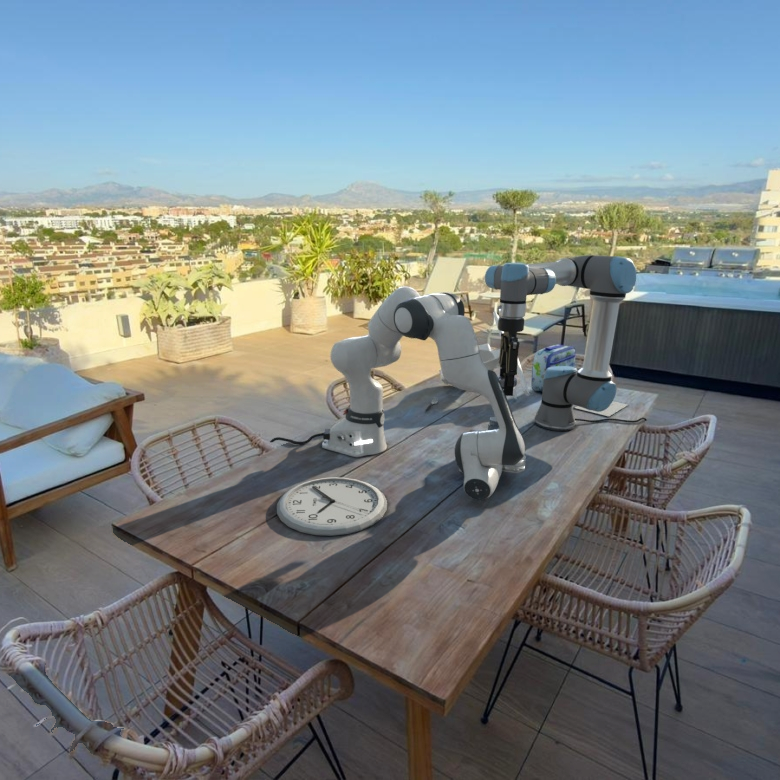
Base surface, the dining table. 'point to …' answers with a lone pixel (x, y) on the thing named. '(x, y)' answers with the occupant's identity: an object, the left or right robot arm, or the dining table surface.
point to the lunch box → (550, 362)
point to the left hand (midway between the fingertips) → (495, 448)
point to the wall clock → (331, 506)
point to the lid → (504, 379)
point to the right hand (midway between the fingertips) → (505, 391)
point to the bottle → (493, 424)
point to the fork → (432, 403)
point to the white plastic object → (495, 361)
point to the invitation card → (609, 411)
